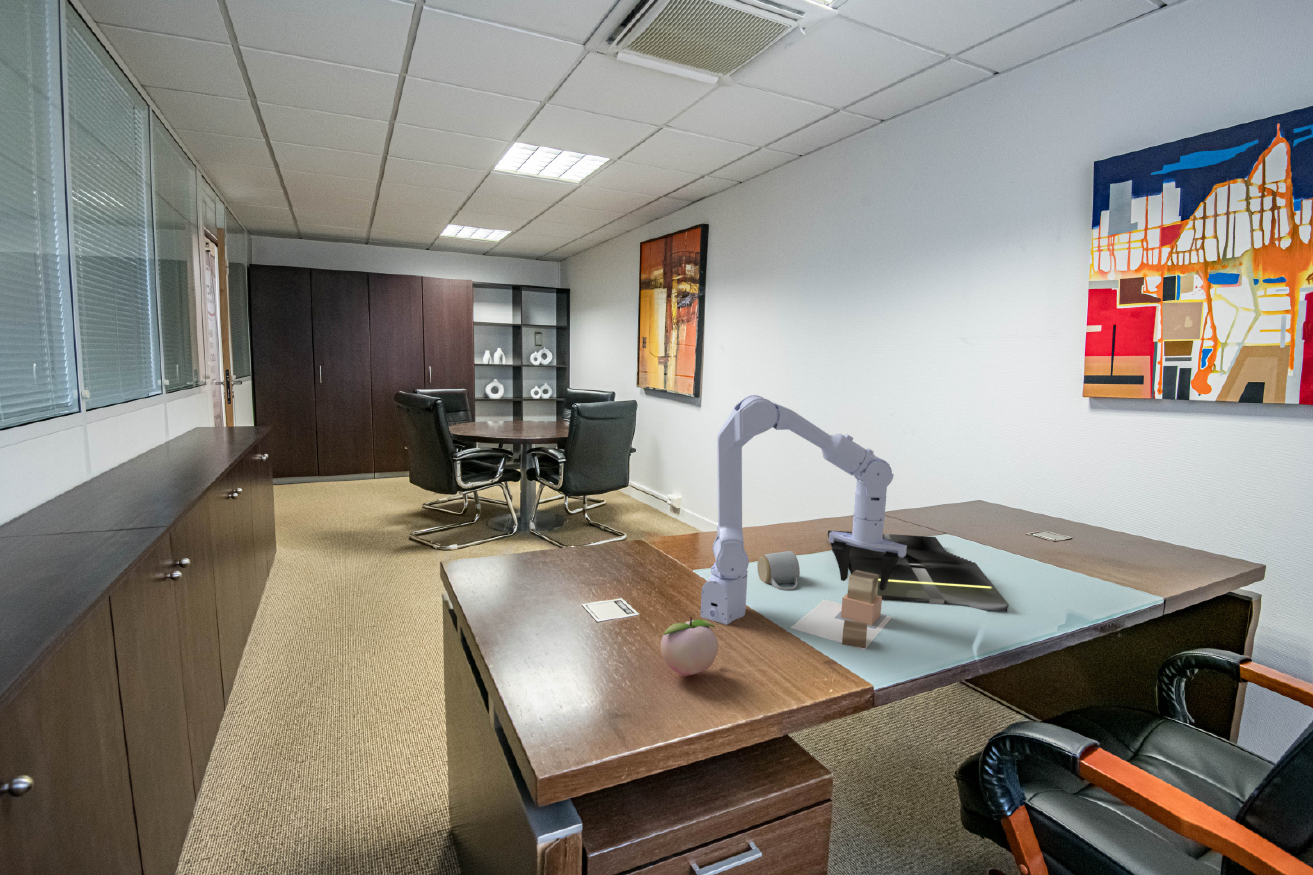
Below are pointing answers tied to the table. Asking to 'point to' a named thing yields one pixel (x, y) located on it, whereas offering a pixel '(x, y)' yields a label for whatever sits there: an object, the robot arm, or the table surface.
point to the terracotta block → (861, 610)
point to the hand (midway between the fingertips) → (863, 584)
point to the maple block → (862, 586)
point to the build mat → (834, 623)
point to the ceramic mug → (779, 569)
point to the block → (854, 634)
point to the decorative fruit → (689, 646)
